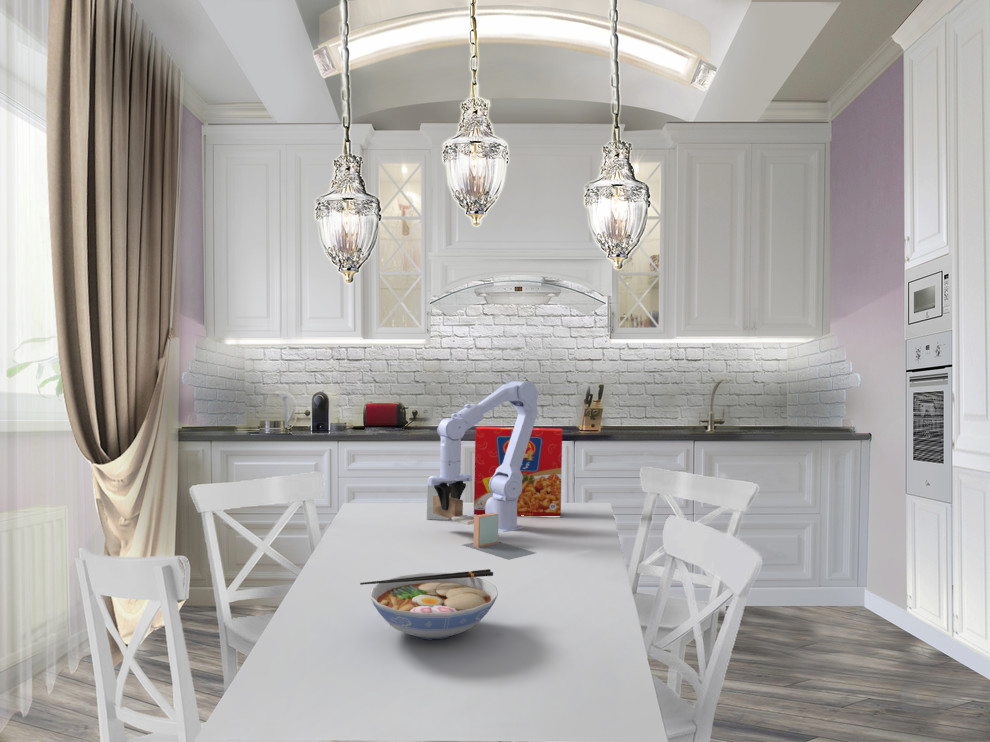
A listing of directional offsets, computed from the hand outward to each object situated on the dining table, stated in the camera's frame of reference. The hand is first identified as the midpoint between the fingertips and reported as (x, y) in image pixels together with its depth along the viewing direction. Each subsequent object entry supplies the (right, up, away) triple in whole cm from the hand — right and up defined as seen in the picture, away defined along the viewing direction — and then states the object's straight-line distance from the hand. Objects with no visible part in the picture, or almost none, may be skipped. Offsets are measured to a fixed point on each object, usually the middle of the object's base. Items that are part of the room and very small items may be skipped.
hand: (449, 509), depth 194 cm
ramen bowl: (+2, -8, -72) cm, 72 cm away
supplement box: (-5, -8, +23) cm, 25 cm away
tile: (+10, -7, -12) cm, 17 cm away
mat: (+14, -8, -15) cm, 22 cm away
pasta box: (+20, -8, +31) cm, 38 cm away
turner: (+1, -2, -2) cm, 3 cm away
